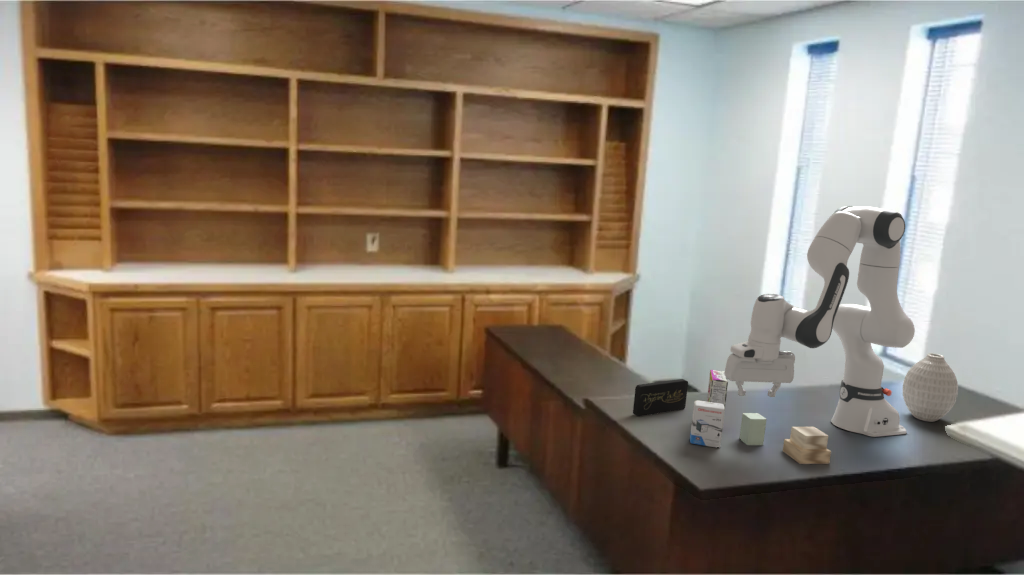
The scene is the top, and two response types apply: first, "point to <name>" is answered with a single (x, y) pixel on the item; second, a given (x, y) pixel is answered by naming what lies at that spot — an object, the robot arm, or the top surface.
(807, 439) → the maple block
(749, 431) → the sage block
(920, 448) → the top surface
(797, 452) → the oak block
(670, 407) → the nameplate
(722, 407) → the ink box
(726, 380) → the candy bar box
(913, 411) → the vase
